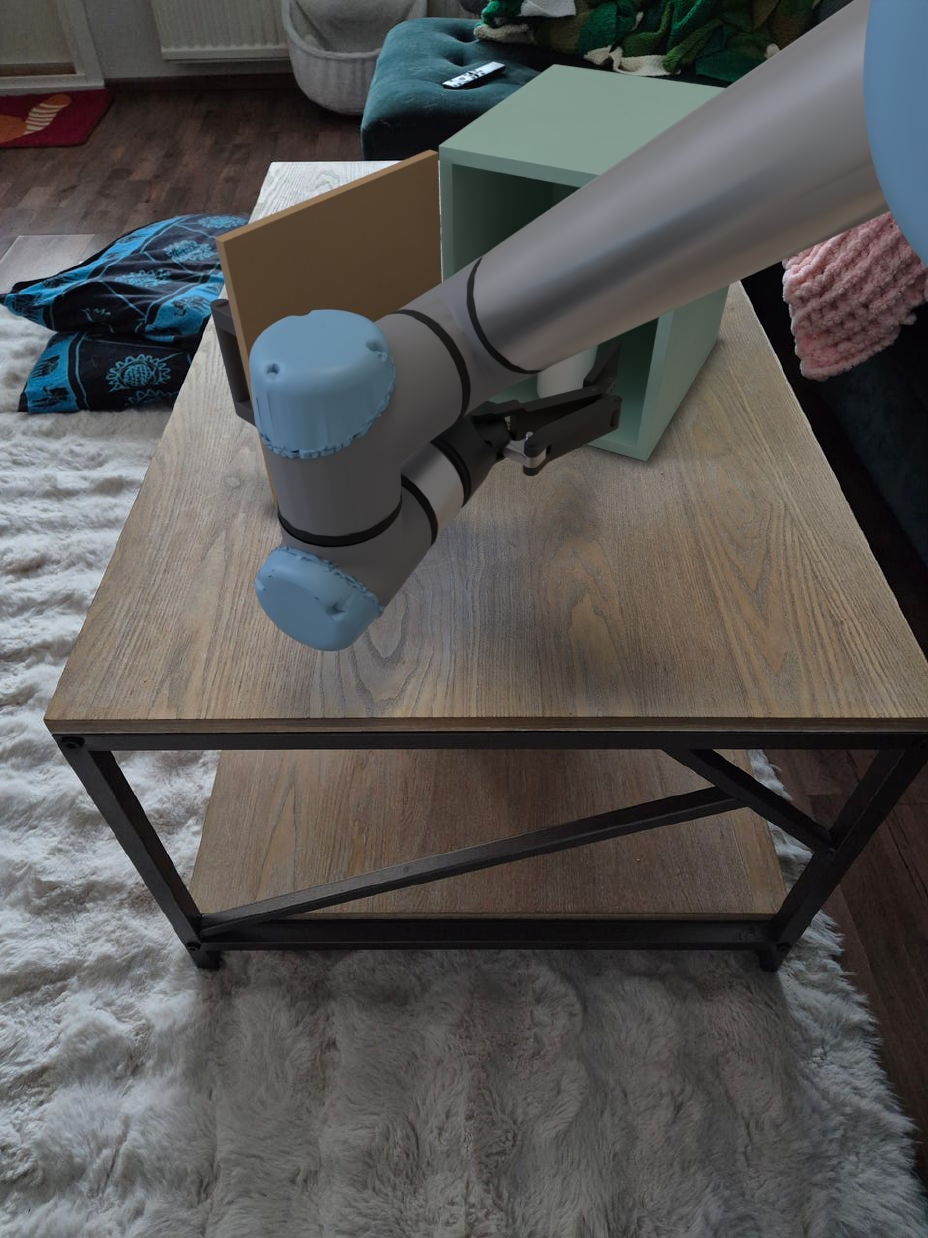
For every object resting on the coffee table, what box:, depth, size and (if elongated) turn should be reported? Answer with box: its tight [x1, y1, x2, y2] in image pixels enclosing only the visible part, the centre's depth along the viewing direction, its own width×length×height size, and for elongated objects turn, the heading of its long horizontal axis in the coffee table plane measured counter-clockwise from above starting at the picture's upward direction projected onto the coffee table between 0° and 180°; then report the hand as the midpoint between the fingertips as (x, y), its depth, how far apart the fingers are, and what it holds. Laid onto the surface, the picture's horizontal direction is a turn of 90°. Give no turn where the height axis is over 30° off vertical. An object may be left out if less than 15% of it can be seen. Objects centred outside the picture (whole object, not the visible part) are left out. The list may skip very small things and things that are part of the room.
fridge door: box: [209, 149, 442, 510], centre depth 73 cm, size 6×21×24 cm, turn 138°
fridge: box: [438, 64, 731, 462], centre depth 82 cm, size 24×21×24 cm
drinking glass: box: [536, 344, 599, 399], centre depth 80 cm, size 7×7×15 cm
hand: (540, 337), depth 74 cm, fingers open, 13 cm apart
